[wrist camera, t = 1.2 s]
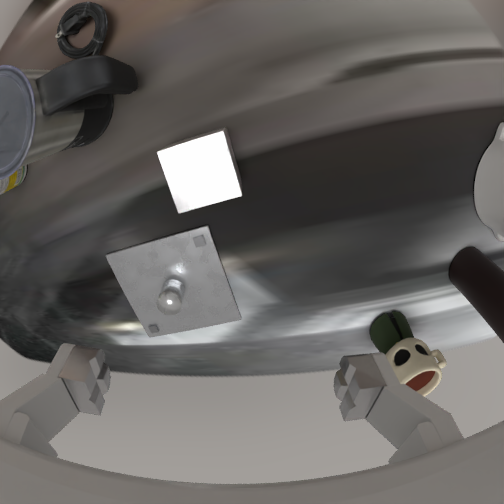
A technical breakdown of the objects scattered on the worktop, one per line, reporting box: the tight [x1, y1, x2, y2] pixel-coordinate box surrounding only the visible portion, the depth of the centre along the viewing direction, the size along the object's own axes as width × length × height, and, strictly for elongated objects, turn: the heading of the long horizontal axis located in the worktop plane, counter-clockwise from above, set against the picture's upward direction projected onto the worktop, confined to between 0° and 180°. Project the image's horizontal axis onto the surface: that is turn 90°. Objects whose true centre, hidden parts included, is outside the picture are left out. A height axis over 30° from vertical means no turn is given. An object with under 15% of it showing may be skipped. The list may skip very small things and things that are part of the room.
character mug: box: [370, 311, 447, 397], centre depth 38 cm, size 11×7×13 cm, turn 102°
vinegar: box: [449, 247, 504, 343], centre depth 31 cm, size 7×7×20 cm
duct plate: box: [106, 225, 241, 337], centre depth 37 cm, size 14×14×4 cm
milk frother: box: [0, 2, 138, 180], centre depth 20 cm, size 14×16×15 cm
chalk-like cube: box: [157, 127, 242, 213], centre depth 30 cm, size 6×6×6 cm
